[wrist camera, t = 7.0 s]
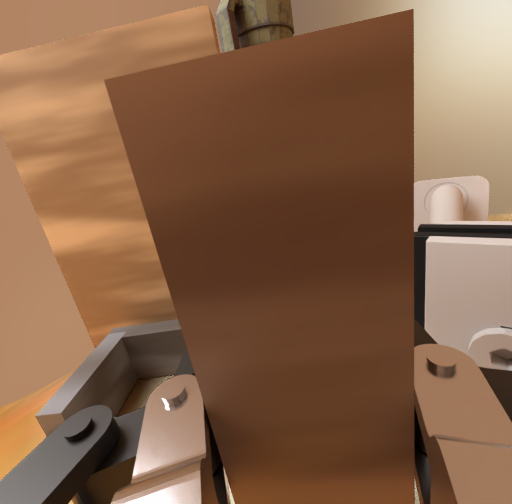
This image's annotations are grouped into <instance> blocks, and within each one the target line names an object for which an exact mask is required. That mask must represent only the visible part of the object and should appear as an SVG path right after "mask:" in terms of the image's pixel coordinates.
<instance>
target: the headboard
mask: <svg viewBox="0 0 512 504" xmlns="http://www.w3.org/2000/svg"><path fill="white" fill-rule="evenodd" d="M219 53H220V50H219V44H218V39H217V34H216V28H215V23H214V19H213V16H212V14H211V11H210V8H209V6H208V5H204V6H200V7H195V8H191V9H187V10H183V11H179V12H175V13H171V14H167V15H163V16H158V17H154V18H150V19H146V20H143V21H138V22H134V23H130V24H125V25H121V26H117V27H113V28H109V29H105V30H101V31H97V32H93V33H89V34H84V35H80V36H76V37H72V38H68V39H64V40H60V41H55V42H52V43H47V44H43V45H39V46H35V47H31V48H27V49H23V50H19V51H15V52H10V53H6V54H2V55H0V130H1V133H2V135H3V137H4V139H5V142H6V144H7V147H8V149H9V151H10V153H11V156H12V158H13V160H14V163H15V165H16V167H17V170H18V172H19V174H20V176H21V179H22V181H23V183H24V186H25V188H26V190H27V192H28V195H29V197H30V199H31V202H32V204H33V206H34V209H35V211H36V213H37V216H38V218H39V220H40V222H41V225H42V227H43V229H44V231H45V234H46V236H47V238H48V240H49V243H50V245H51V248H52V250H53V252H54V255H55V257H56V259H57V262H58V264H59V266H60V268H61V271H62V273H63V275H64V278H65V280H66V282H67V285H68V286H69V289H70V291H71V294H72V296H73V298H74V301H75V303H76V305H77V307H78V310H79V312H80V314H81V317H82V319H83V321H84V324H85V326H86V328H87V330H88V333H89V335H90V337H91V340H92V342H93V344H94V347H95V350H94V351H93V352H92V353H91V354H90V355H89V356H88V357H87V358H86V360H85V361H84V362H83V363H82V364H81V365H80V366H79V367H78V369H77V370H76V371H75V372H74V373H73V374H72V375H71V376H70V378H69V379H68V380H67V381H66V382H65V383H64V384H63V385H62V387H61V388H60V389H59V390H58V391H57V392H56V393H55V394H54V396H53V397H52V398H51V399H50V400H49V401H48V402H47V403H46V404H45V406H44V407H43V408H42V409H41V410H40V411H39V412H38V413H37V415H36V416H35V417H36V418H37V420H38V422H39V424H40V425H41V427H42V429H43V431H44V432H45V434H46V436H47V437H48V436H49V435H50V434H51V433H52V432H53V431H54V430H55V429H56V428H57V427H58V426H60V425H61V424H62V423H63V422H64V421H65V420H67V419H68V418H69V417H71V416H72V415H74V414H75V413H77V412H79V411H81V410H83V409H85V408H88V407H91V406H95V405H105V406H107V407H109V408H110V409H111V411H112V413H113V416H114V418H117V417H116V416H117V415H118V413H119V411H120V409H121V408H122V406H123V404H124V402H125V401H126V399H127V397H128V396H129V394H130V392H131V390H132V389H133V387H134V385H135V383H136V382H137V380H138V379H143V378H151V377H159V376H167V375H175V372H176V370H177V368H178V365H179V363H180V360H181V358H182V356H183V353H184V351H185V349H186V344H185V340H184V337H183V334H182V331H181V327H180V324H179V321H178V318H177V315H176V311H175V308H174V305H173V302H172V298H171V295H170V292H169V289H168V285H167V282H166V279H165V276H164V273H163V269H162V266H161V263H160V260H159V256H158V253H157V250H156V247H155V244H154V240H153V237H152V234H151V231H150V227H149V224H148V221H147V218H146V215H145V211H144V208H143V205H142V202H141V198H140V195H139V192H138V189H137V186H136V182H135V179H134V176H133V173H132V169H131V166H130V163H129V160H128V156H127V153H126V150H125V147H124V144H123V140H122V137H121V134H120V131H119V127H118V124H117V121H116V118H115V115H114V111H113V108H112V105H111V102H110V98H109V95H108V92H107V89H106V86H105V82H104V80H105V79H109V78H114V77H118V76H123V75H127V74H131V73H136V72H140V71H144V70H149V69H153V68H158V67H162V66H166V65H171V64H175V63H179V62H184V61H188V60H193V59H197V58H201V57H206V56H210V55H214V54H219ZM47 437H46V438H47ZM46 438H45V439H46ZM45 439H44V440H45ZM44 440H43V441H44Z"/></svg>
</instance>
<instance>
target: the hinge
mask: <svg viewBox="0 0 512 504" xmlns="http://www.w3.org/2000/svg"><path fill="white" fill-rule="evenodd" d="M414 319H415V320H416V321H417V322H418V323H419V324H420V325H421V326H422V327H423V328H424V329H425V330H426V332H427V333H428V334H429V335H430V336H431V337H432V338H433V339H434V340H435V341H436V342H437V343H438V344H439V345H445V346H449V347H452V348H455V349H457V350H459V351H461V352H463V353H465V354H466V355H468V356H469V357H471V358H472V359H473V360H474V361H475V362H476V364H477V365H478V366H479V367H484V368H491V369H500V370H510V371H512V221H442V222H441V223H440V224H420V225H419V226H418V232H414Z"/></svg>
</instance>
